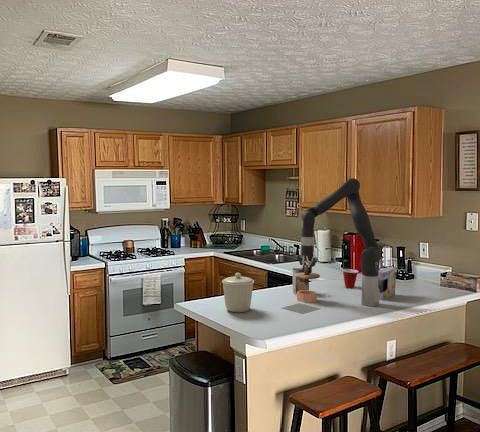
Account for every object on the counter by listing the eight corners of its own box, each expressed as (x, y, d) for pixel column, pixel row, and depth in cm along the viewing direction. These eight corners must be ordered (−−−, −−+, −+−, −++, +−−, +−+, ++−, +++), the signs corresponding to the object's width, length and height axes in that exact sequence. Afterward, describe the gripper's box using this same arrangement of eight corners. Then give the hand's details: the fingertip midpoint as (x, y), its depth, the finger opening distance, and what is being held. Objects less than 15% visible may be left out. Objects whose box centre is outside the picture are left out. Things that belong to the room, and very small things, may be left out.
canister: (234, 316, 263) (234, 277, 262) (215, 309, 278) (215, 272, 276) (260, 311, 274) (261, 273, 272) (241, 304, 288) (241, 268, 287)
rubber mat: (321, 309, 278) (321, 308, 278) (302, 314, 267) (302, 313, 267) (299, 303, 290) (299, 303, 290) (280, 308, 279) (280, 308, 279)
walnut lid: (324, 276, 296) (325, 265, 295) (309, 280, 286) (309, 268, 285) (305, 273, 307) (305, 261, 306) (289, 276, 296) (289, 264, 296)
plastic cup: (358, 289, 327) (359, 271, 326) (341, 289, 329) (342, 271, 328) (358, 286, 337) (358, 268, 336) (341, 285, 339) (342, 268, 338)
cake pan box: (381, 300, 298) (382, 271, 297) (373, 299, 302) (374, 270, 300) (396, 295, 312) (397, 267, 311) (388, 294, 316) (389, 266, 314)
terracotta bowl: (320, 300, 297) (320, 292, 297) (307, 304, 290) (308, 295, 289) (305, 297, 306) (305, 289, 305) (293, 300, 298) (293, 292, 297)
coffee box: (305, 292, 319) (306, 267, 318) (309, 294, 313) (309, 269, 312) (292, 292, 317) (292, 268, 316) (295, 295, 311) (295, 269, 310)
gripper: (320, 244, 292) (320, 273, 293) (302, 242, 302) (302, 270, 304) (312, 246, 287) (312, 275, 288) (294, 243, 297) (294, 272, 299)
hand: (307, 272), depth 296 cm, fingers closed on walnut lid, 3 cm apart
